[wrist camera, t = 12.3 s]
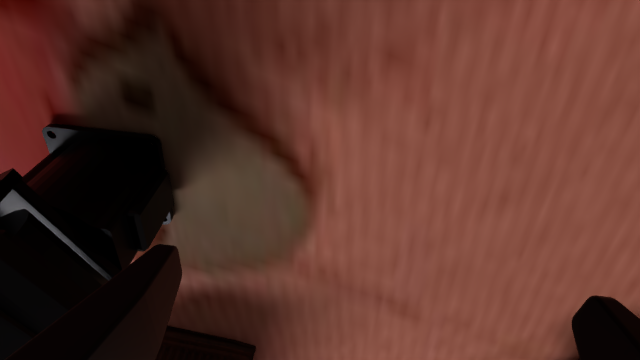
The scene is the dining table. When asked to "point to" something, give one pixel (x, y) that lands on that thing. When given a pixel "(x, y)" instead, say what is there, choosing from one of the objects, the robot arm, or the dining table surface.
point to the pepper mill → (201, 347)
